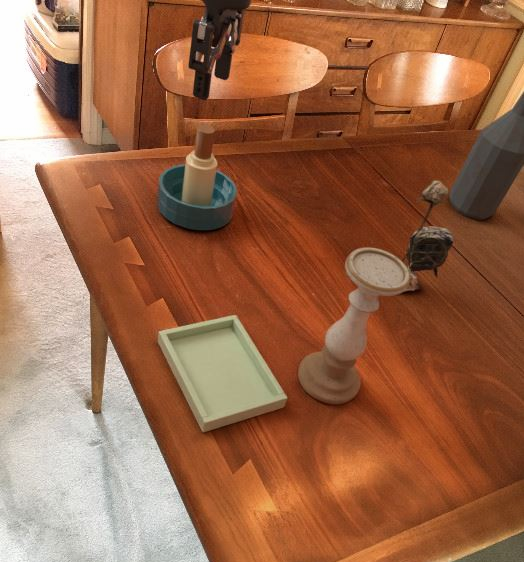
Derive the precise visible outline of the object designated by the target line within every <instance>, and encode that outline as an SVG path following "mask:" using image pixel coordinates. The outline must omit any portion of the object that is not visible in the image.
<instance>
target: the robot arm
mask: <svg viewBox="0 0 524 562" xmlns="http://www.w3.org/2000/svg"><path fill="white" fill-rule="evenodd" d="M199 1H201V2H202V3H203V4H204V6H205V9H204V13H203V15H202V17H201V20H199V19H196V18H195V19H194V21H193V23H192V30H191V31H192V32H191V40H190V48H189V58H188V69H189V70H192V71H194V77H193V88H192V95H193V97H194V98H196V99H199V100H202V101H207V99H209V97H210V92H211V83H212V77H213V75H214V77H215V78H216V79H219V80H222V81H227V80H229V78H230V74H231V73H230V72H231V68H232V61H233V60H232V59H233V55H234V54H235V52H236V47H239V45H240V43H241V36H242V30H243V29H242V28H243V22H244V14H245V10H247V9H248V8H250V7H251V3H252V0H199ZM202 58H203V60H202ZM213 70H214V71H213ZM213 72H214V73H213Z"/></svg>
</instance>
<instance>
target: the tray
mask: <svg viewBox="0 0 524 562" xmlns="http://www.w3.org/2000/svg"><path fill="white" fill-rule="evenodd" d="M157 343H158V345H159V347H160V350H161V351H162V354H163V355H164V357H165V359H166V362H167V364H168V365H169V367H170V370H171V372H172V374H173V375H174V378H175V380H176V382H177V384H178V386H179V387H180V390H181V392H182V394H183V396H184V398H185V400H186V402H187V404H188V406H189V408H190V410H191V413H192V414H193V416H194V419H195V420H196V422H197V424H198V427H199V428H200V430H201V432H202V433H206V432H209V431H213V430H216V429H218V428H222V427H225V426H228V425H232V424H235V423H238V422H241V421H244V420H247V419H251V418H255V417H257V416H260V415H264V414H267V413H270V412H275V411H276V410H277V411H278V410H280V409H283V408H284V407H285V406H286V403H287V400H288V396H287V394H286V393H285V391H284V389H283V388H282V386H281V385H280V384H279V383H280V382H279V381H278V380H277V378H276V377H275V375H274V374H273V372H272V370H271V369H270V367H269V365H268V364H267V362H266V361H265V359H264V357H263V356H262V354H261V352H260V351H259V349H258V348H257V346H256V345H255V343H254V340H252V338H251V336H250V335H249V333H248V332H247V330H246V329H245V326H244V325H243V324H242V322H241V321H240V318H239V317H238V316H237V314H233V315H227V316H223V317H219V318H214V319H209V320H204V321H200V322H196V323H191V324H187V325H181V326H178V327H173V328H167V329H163V330H159V331H158V335H157Z"/></svg>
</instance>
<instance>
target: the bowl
mask: <svg viewBox="0 0 524 562" xmlns="http://www.w3.org/2000/svg"><path fill="white" fill-rule="evenodd" d="M184 172H185V163H183V164H178V165H173V166H171V167H167V169H165V170H164V171H163V172H162V173H161V174H160V175H159V179H158V187H157V199H156V205H157V208H158V211H159V212H160V214H161V215H162V216H163V217H164V218H165V219H166V220H167V221H170V222H171V223H172V224H174V225H177V226H179V227H182V228H184V229H188V230H195V231H212V230H216V229H220V228H221V229H222V227H224V226H226V225H227V224H229V223H230V222H231V220H232V218H234V212H235V207H236V202H237V198H238V197H237V196H238V188H237V185H236V183H235V182H234V180H233V179H231V178H230V176H228V175H227V174H225V173H224V172H222V171H220V170H218V169H217V171H216V178H215V184H214V190H213V197H212V203H211V206H197V205H191V204H188V203H185V202H182V201H181V199H182V190H183V181H184Z"/></svg>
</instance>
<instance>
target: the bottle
mask: <svg viewBox="0 0 524 562" xmlns="http://www.w3.org/2000/svg"><path fill="white" fill-rule="evenodd" d="M523 167H524V91H522V93H521V95H520V96H519V98H518V99H517V101H516V102H515V103H514V105H513V107H512V108H511V109H510V110H508V111H507V112H505V113H503V114H502V115H500V116H499V117H498V118H496V119H495V120H494V121H492V122H490V123H489V124H487V125H486V126H484V127H483V128H482V129H481V130H480V132H479V134H478V135H477V137H476V139H475V142H474V144H473V146H472V147H471V149H470V151H469V153H468V156H467V157H466V160H465V161H464V163H463V165H462V167H461V169H460V171H459V174H458V175H457V177H456V179H455V181H454V183H453V184H452V186H451V189H450V190H449V192H448V193H449V195H448V196H449V204H450V206H451V207H452V208H453V209H454V210H455V211H457V213H459V214H461V215H462V216H463V217H468V218H470V219H474V220H477V221H485V220H486V219H488V218H490V217H491V216H493V215H495V214H496V212H497V211H498V209H499V207H500V205H501V204H502V202H503V201H504V199H505V197H506V196H507V193H508V192H509V190H510V189H511V187H512V185H513V183H514V182H515V180H516V179H517V177H518V175H519V174H520V172H521V170H522V168H523Z"/></svg>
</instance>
